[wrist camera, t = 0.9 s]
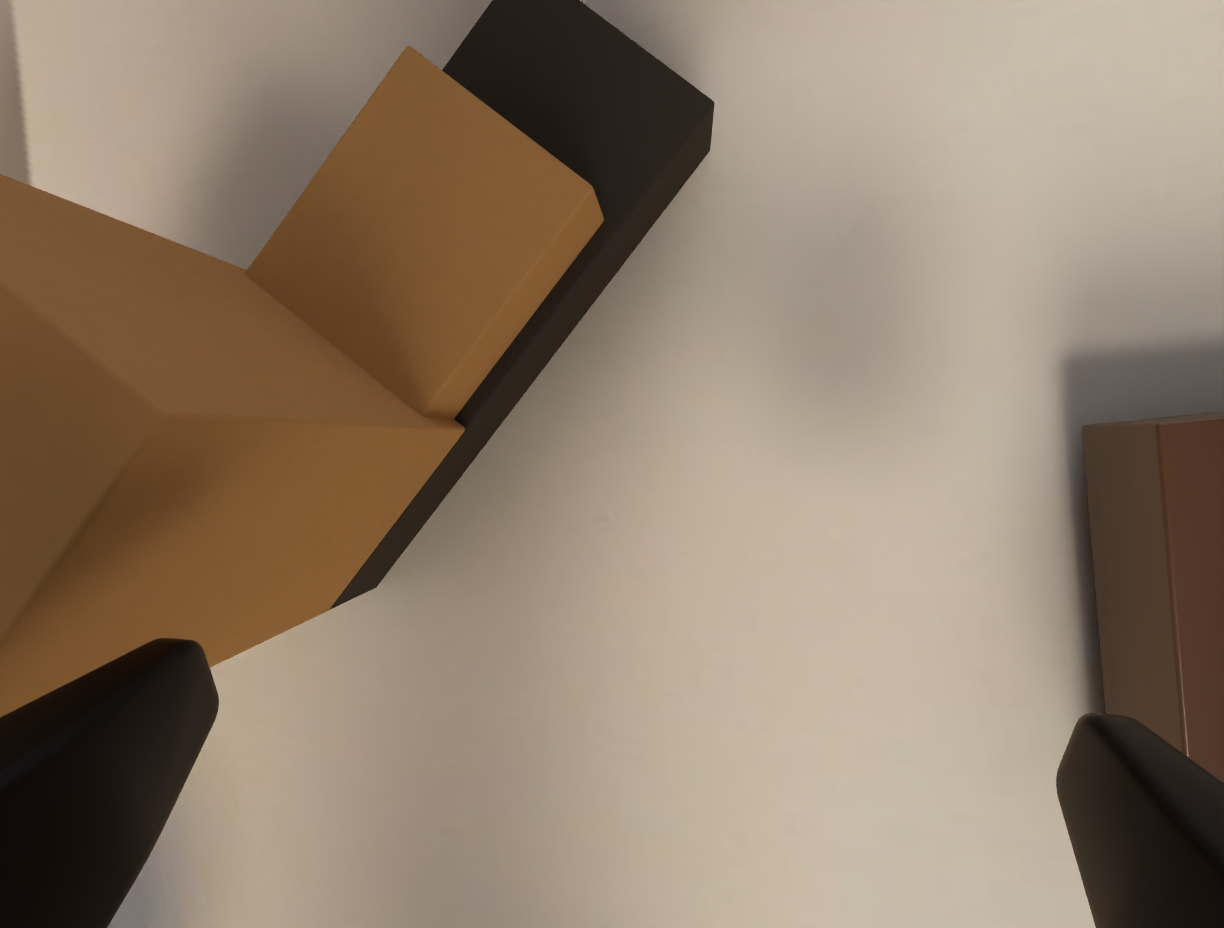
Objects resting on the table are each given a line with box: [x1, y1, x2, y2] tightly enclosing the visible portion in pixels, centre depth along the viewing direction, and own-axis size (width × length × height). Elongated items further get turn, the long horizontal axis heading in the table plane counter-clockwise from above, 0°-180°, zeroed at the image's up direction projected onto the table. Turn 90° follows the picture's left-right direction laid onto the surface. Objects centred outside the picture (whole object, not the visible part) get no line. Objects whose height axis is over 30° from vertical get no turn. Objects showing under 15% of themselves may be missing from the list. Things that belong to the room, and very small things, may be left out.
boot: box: [0, 0, 714, 717], centre depth 15 cm, size 16×6×14 cm, turn 142°
